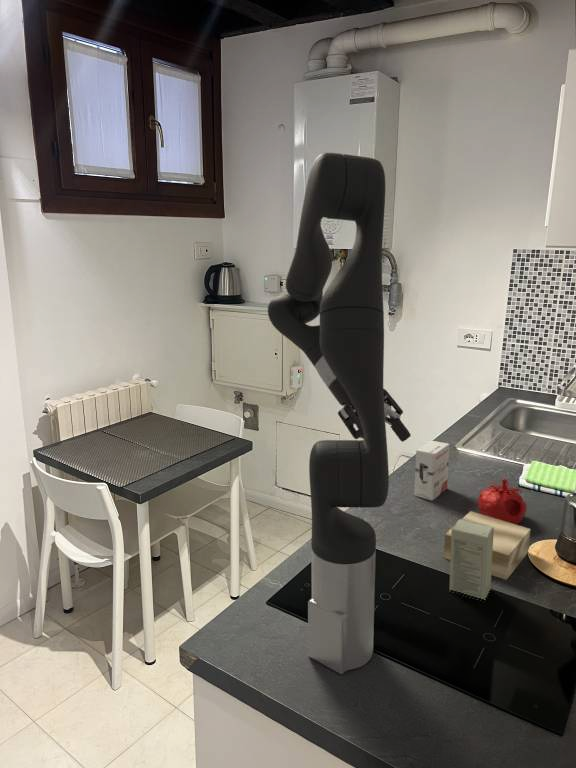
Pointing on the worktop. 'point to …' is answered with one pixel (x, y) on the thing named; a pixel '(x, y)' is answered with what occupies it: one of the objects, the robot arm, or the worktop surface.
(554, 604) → the worktop surface
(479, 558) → the skincare box
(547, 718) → the worktop surface
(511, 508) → the pomegranate
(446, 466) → the ink box
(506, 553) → the birch block
